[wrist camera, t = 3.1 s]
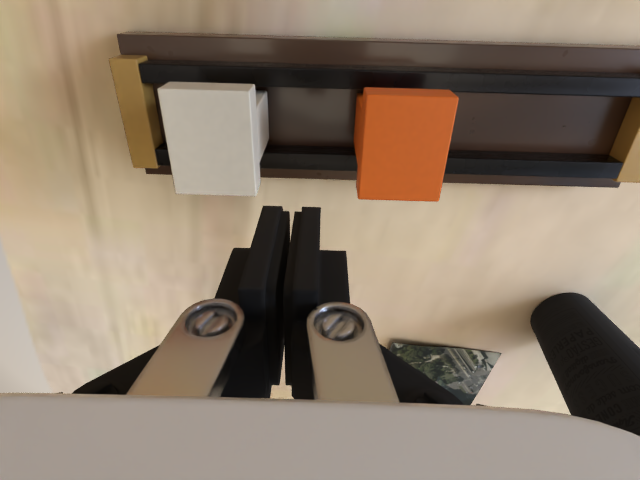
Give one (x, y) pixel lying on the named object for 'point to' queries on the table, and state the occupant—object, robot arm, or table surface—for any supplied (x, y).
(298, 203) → the table surface
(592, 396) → the drinking cup
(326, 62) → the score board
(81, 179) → the table surface
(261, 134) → the white boxy piece
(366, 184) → the orange rectangular block
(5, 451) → the robot arm
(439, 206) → the table surface
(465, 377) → the eiffel tower figurine
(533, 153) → the rails
